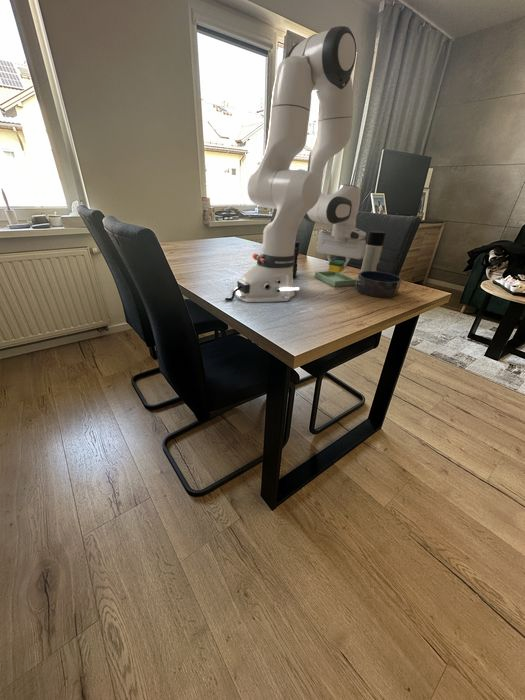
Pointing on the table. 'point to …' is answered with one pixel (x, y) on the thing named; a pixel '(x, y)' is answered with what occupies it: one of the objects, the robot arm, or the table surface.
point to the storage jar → (296, 252)
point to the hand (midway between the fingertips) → (337, 266)
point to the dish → (335, 278)
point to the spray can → (373, 251)
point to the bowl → (378, 284)
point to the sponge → (336, 266)
